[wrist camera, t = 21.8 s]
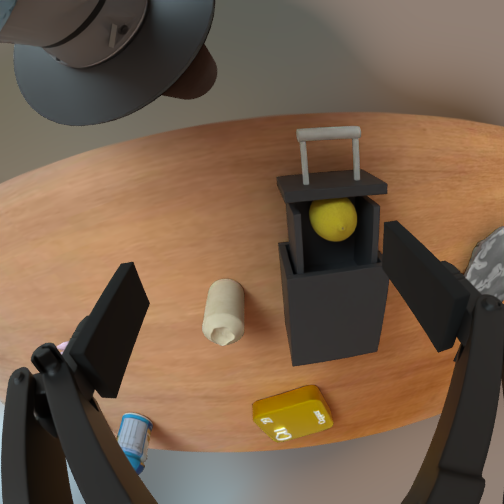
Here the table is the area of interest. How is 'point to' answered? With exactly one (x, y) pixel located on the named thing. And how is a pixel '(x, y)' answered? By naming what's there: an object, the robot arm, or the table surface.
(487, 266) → the brain slice
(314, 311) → the cabinet
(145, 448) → the beverage bottle
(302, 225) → the drawer
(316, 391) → the element tile
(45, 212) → the table surface
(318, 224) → the lemon
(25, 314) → the table surface
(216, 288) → the candle
